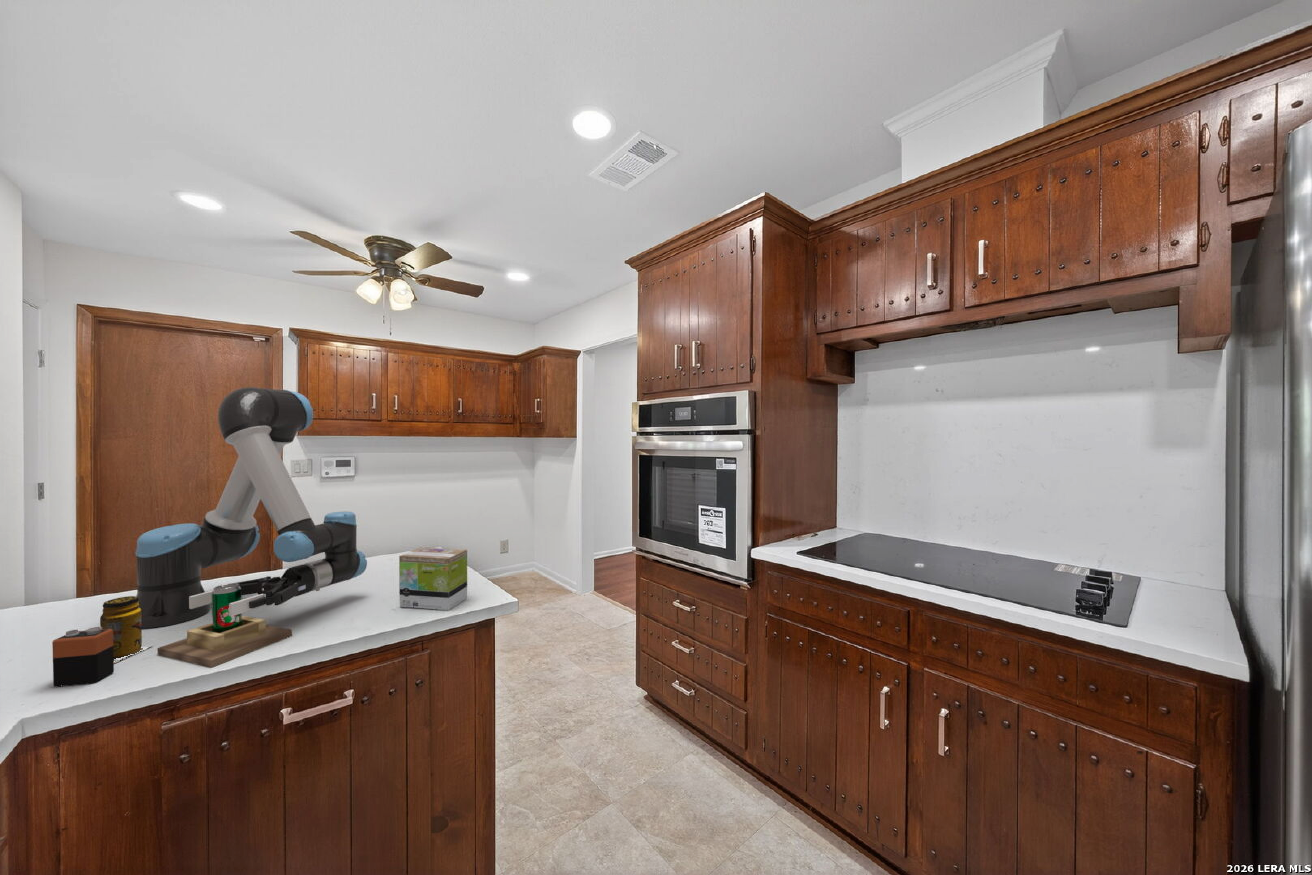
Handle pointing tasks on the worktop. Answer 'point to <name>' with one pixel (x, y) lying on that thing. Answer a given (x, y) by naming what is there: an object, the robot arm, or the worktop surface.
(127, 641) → the condiment
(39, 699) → the worktop surface
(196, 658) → the collar board
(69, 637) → the battery
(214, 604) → the soda can
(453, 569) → the tea box
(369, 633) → the worktop surface
